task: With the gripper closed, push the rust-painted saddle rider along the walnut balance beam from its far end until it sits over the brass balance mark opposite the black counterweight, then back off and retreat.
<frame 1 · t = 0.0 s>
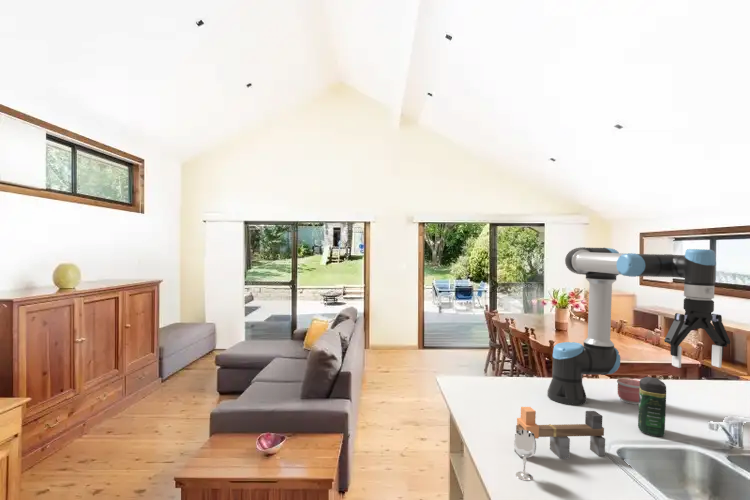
hand: (696, 366, 131), 28 cm above the counter, fingers open, 13 cm apart
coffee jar: (651, 431, 149), on the counter
beam: (559, 453, 131), on the counter
rider: (527, 421, 129), point 10 cm above the counter, slide at 0.0 cm
wineglass: (524, 476, 117), on the counter
container: (630, 401, 179), on the counter
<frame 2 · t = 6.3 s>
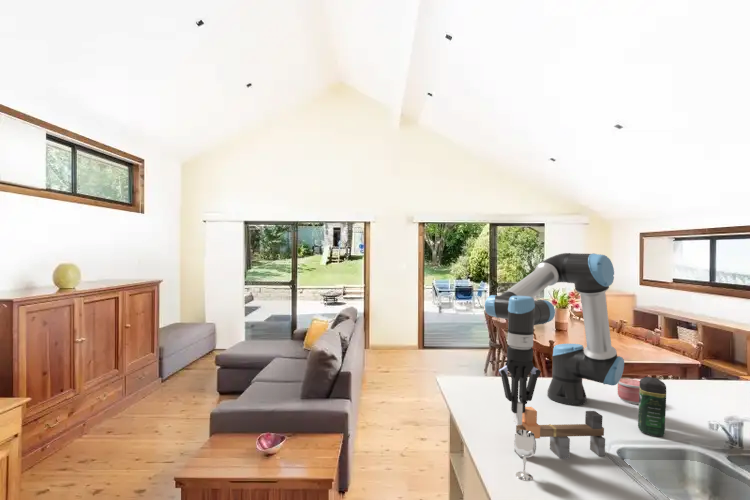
hand: (517, 422, 129), 10 cm above the counter, fingers closed
rider: (529, 421, 130), point 10 cm above the counter, slide at 0.4 cm, touching gripper
everything else where it was.
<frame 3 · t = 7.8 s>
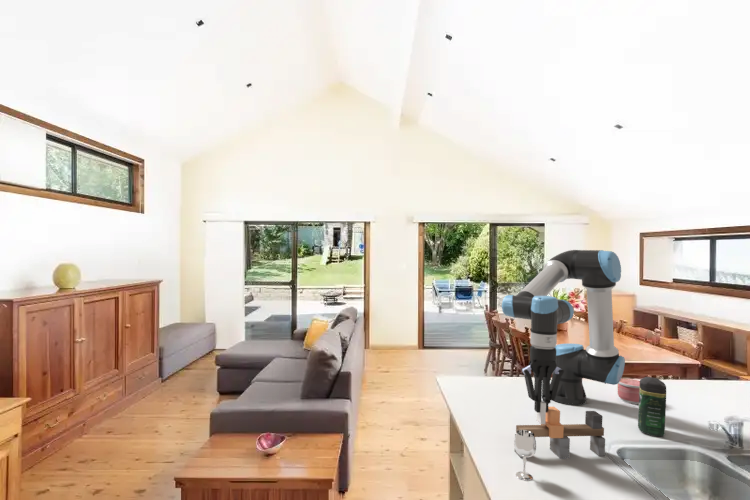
hand: (540, 422, 130), 10 cm above the counter, fingers closed
rider: (552, 421, 130), point 10 cm above the counter, slide at 7.8 cm, touching gripper
everything else where it was.
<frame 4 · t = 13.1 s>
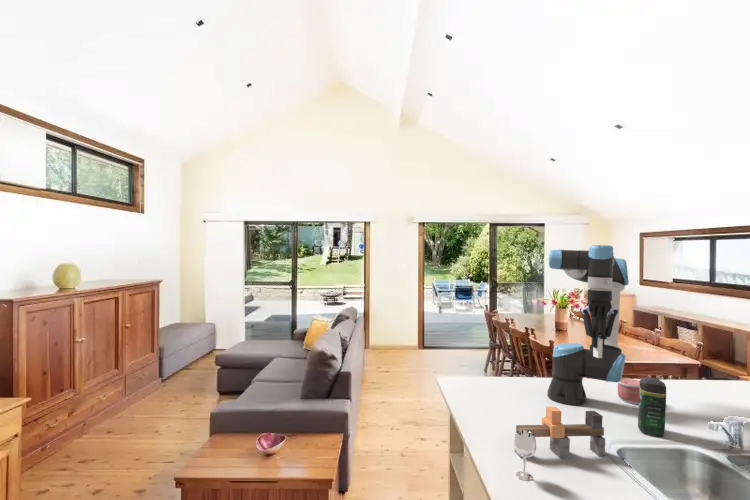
hand: (597, 356, 146), 26 cm above the counter, fingers closed
rider: (553, 421, 130), point 10 cm above the counter, slide at 8.2 cm
everything else where it was.
at the end: rider slide at 8.2 cm; rider moved 8.2 cm from its start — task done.
